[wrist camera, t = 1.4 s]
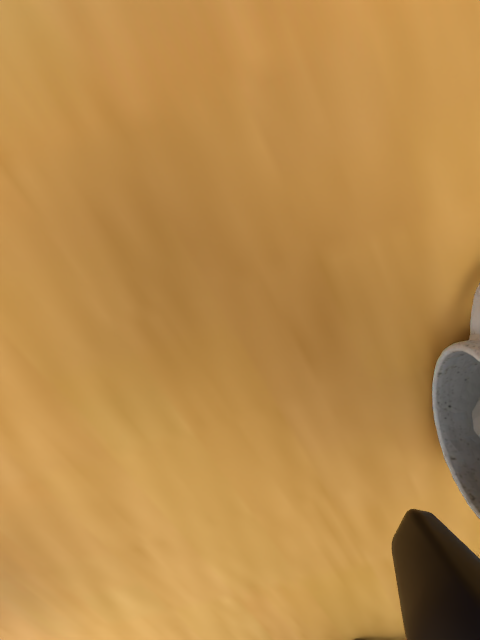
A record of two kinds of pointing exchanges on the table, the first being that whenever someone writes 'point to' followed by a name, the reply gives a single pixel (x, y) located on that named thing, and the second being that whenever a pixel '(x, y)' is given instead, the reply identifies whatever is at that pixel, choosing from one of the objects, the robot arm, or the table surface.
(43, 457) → the table surface
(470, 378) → the ceramic mug
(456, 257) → the table surface
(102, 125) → the table surface
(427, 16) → the table surface
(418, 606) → the robot arm
